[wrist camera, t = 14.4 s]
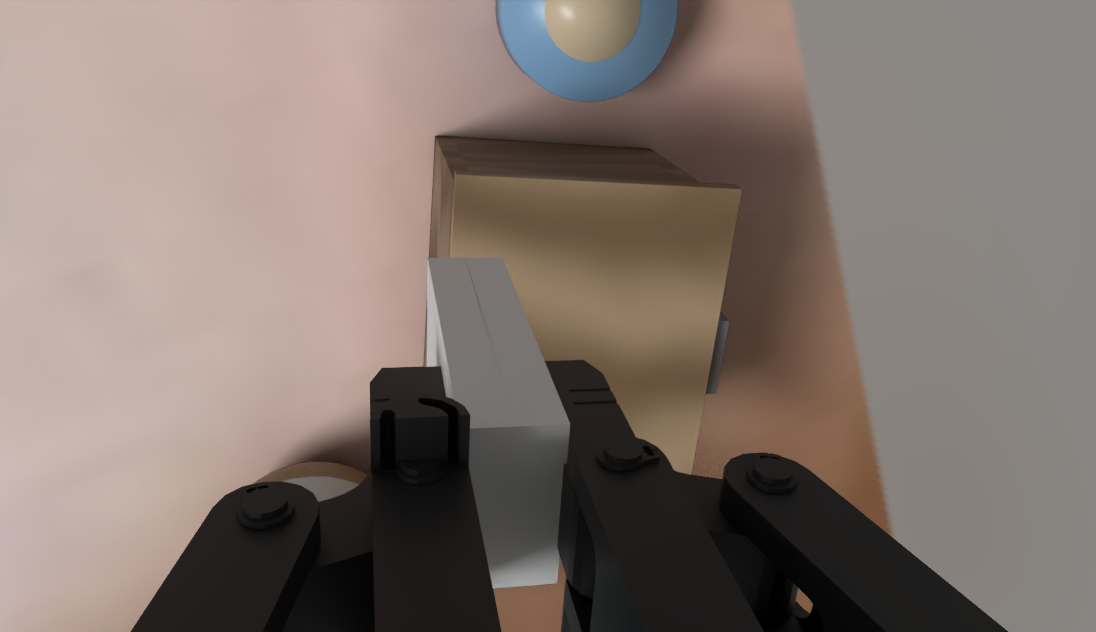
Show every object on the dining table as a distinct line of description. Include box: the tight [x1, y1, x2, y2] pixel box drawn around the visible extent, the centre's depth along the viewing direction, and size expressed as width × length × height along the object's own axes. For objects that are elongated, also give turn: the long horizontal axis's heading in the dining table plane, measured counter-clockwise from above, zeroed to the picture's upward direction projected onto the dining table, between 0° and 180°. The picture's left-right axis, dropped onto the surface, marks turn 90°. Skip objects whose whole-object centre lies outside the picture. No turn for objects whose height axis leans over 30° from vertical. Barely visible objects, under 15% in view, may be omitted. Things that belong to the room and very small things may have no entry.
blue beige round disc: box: [496, 0, 678, 102], centre depth 41 cm, size 8×8×3 cm
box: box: [424, 136, 700, 367], centre depth 43 cm, size 15×11×9 cm
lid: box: [449, 170, 742, 475], centre depth 40 cm, size 16×13×2 cm
